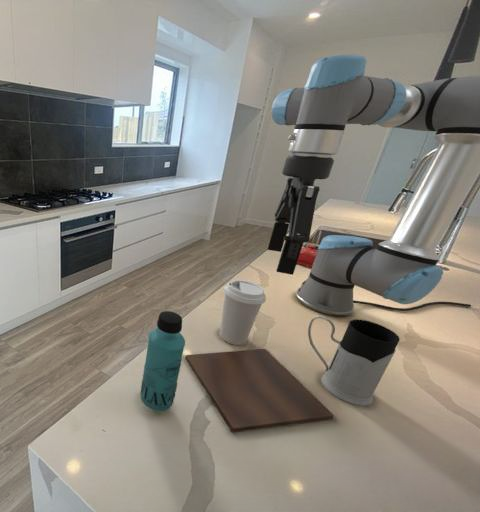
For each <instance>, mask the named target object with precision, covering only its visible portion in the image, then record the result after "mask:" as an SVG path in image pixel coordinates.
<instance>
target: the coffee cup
mask: <svg viewBox="0 0 480 512" xmlns="http://www.w3.org/2000/svg"><path fill="white" fill-rule="evenodd" d="M223 293H224V298H223V305H222V313H221V321H220V328H219V337H220V338H221V339H222V340H223V341H225V342H226V343H227V344H231V345H234V346H242V345H243V346H244V345H245V344H246V342H247V341H248V338H249V335H250V334H251V331H252V329H253V326H254V323H255V321H256V318H257V317H258V314H259V312H260V309H261V308H262V305H263V304H264V303H265V302H266V300H267V297H266V293H265V289H264V288H263V287H262V286H261V285H259V284H257V283H255V282H252V281H249V280H244V279H232V280H230V281H229V282H228V283H227V284H226V285H225V286H224V288H223Z"/></svg>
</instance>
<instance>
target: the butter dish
mask: <svg viewBox="0 0 480 512" xmlns="http://www.w3.org/2000/svg"><path fill="white" fill-rule="evenodd" d="M317 251H318V249H316V245H314V244H308V247H302V249H301V252H300V255H299V258H298V261H297V264H298V265H302V266H305V267H308V268H312V266H313V263H314V260H315V257H316V254H317Z"/></svg>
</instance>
